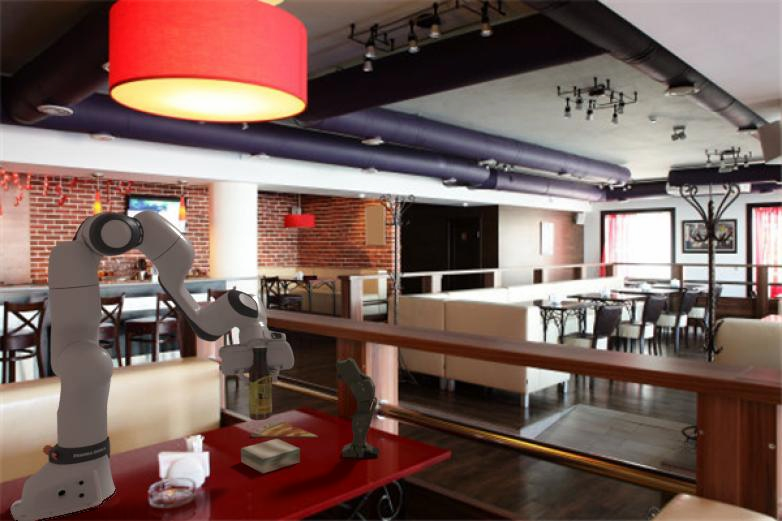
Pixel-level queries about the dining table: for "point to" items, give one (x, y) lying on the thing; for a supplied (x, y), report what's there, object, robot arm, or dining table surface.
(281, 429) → the pizza slice
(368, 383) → the mechanical leg
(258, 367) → the sauce bottle
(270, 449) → the grey flat block
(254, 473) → the dining table surface
